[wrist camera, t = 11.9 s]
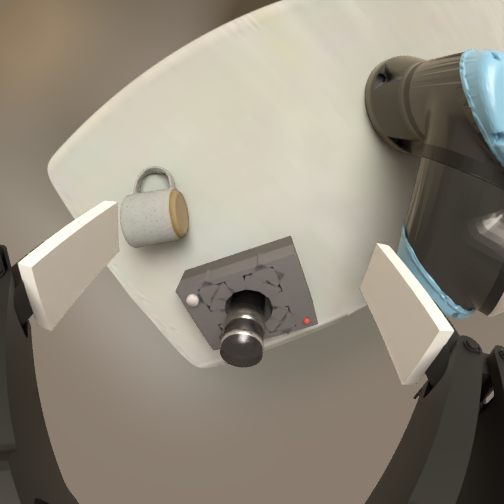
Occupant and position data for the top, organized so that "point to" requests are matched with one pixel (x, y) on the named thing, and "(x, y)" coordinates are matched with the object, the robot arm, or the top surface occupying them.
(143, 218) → the ceramic mug
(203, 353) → the top surface
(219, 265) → the box with round hole
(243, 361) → the lens
